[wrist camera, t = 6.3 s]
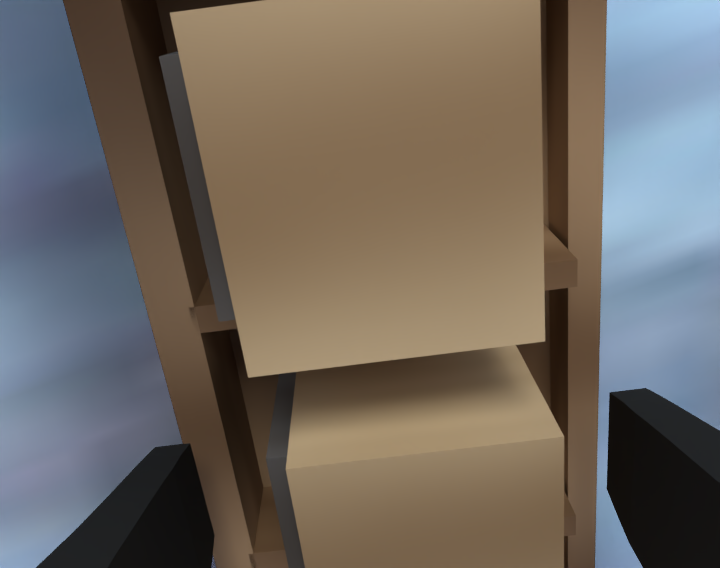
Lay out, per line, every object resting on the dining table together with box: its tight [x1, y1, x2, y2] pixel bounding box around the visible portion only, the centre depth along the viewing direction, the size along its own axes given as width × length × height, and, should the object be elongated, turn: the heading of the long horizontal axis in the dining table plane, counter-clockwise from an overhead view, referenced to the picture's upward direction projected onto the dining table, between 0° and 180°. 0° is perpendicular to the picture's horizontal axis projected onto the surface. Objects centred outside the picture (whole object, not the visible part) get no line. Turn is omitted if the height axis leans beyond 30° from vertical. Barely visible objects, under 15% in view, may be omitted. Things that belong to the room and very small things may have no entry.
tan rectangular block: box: [266, 345, 564, 568], centre depth 12 cm, size 4×4×6 cm
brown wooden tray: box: [63, 0, 607, 568], centre depth 12 cm, size 17×8×6 cm, turn 7°
